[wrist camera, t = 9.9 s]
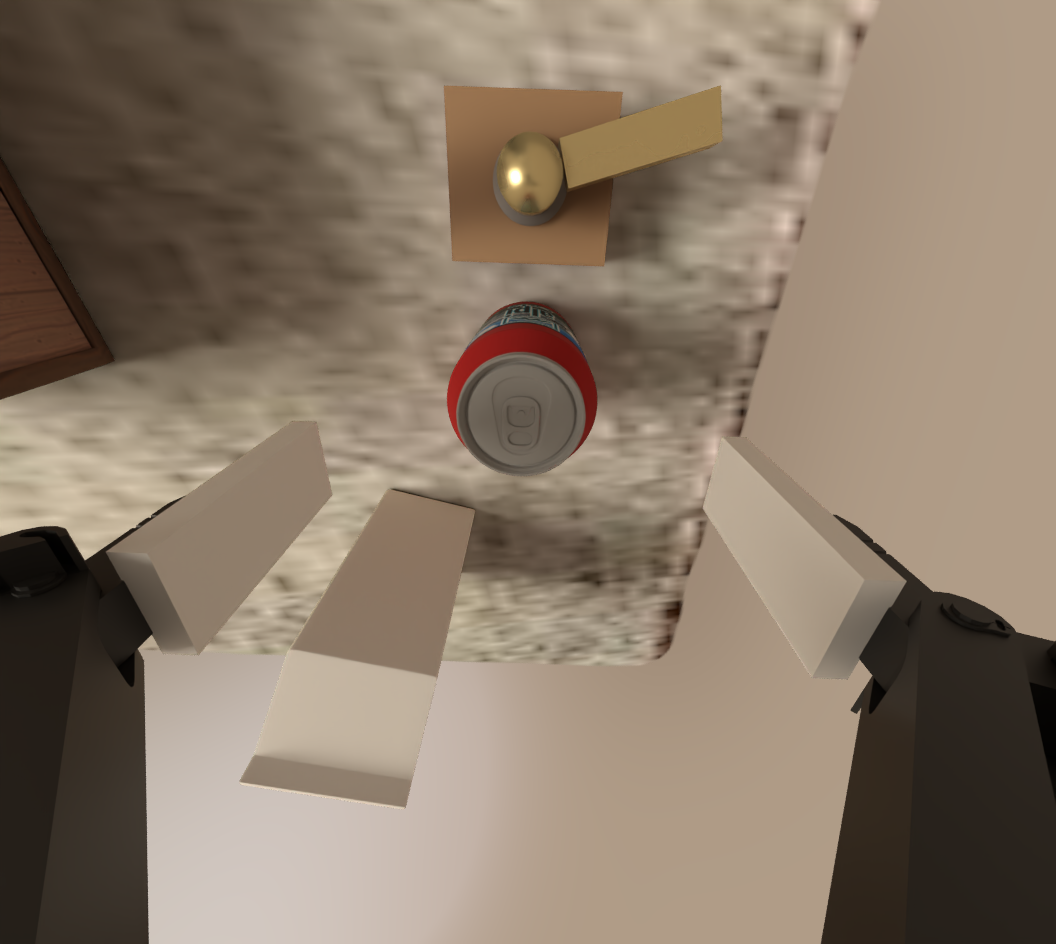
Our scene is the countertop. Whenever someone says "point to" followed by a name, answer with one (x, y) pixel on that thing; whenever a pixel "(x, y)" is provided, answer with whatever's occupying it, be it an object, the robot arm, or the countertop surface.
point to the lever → (606, 150)
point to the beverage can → (522, 391)
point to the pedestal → (475, 197)
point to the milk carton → (367, 661)
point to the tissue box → (38, 305)
